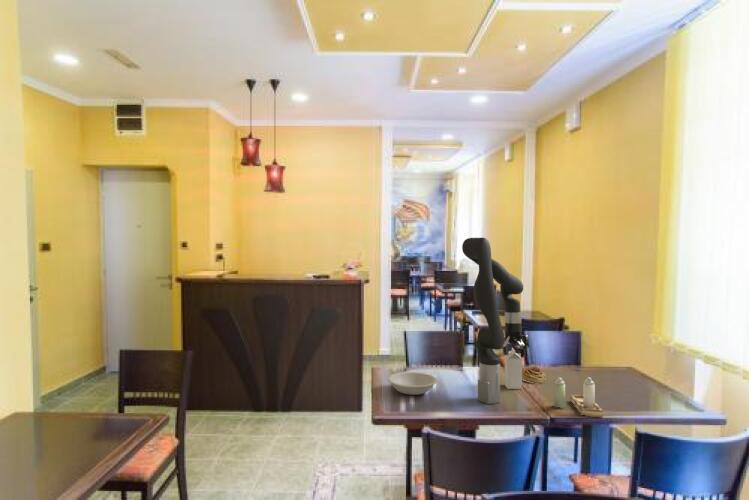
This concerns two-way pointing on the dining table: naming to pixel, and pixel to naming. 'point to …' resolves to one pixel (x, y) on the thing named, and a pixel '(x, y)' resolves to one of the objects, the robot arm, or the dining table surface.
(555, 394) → the pepper mill
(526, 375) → the pastry
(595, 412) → the condiment stand
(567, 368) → the dining table surface
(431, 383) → the soup bowl
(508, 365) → the milk carton
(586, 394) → the salt mill
